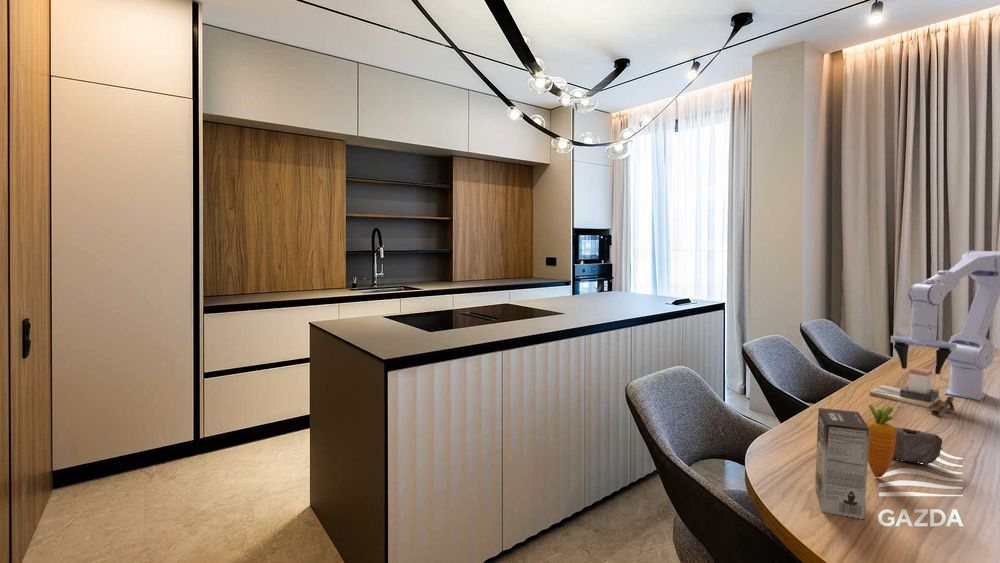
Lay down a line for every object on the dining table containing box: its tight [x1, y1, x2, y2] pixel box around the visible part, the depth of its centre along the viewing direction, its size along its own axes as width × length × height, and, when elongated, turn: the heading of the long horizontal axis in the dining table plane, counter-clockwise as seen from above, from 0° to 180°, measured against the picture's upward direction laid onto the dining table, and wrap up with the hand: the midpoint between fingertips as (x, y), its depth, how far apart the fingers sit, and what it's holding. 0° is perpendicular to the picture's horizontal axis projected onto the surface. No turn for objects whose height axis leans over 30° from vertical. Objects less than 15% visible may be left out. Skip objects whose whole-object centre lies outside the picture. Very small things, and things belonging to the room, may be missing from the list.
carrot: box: [865, 404, 897, 478], centre depth 97 cm, size 5×5×15 cm
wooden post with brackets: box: [930, 396, 955, 417], centre depth 133 cm, size 2×8×4 cm, turn 110°
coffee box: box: [814, 407, 870, 520], centre depth 87 cm, size 9×6×16 cm
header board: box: [869, 384, 941, 408], centre depth 147 cm, size 11×14×3 cm
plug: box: [908, 367, 933, 394], centre depth 144 cm, size 5×4×8 cm
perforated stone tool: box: [892, 426, 943, 466], centre depth 106 cm, size 15×5×7 cm, turn 45°
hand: (920, 370), depth 144 cm, fingers open, 7 cm apart
